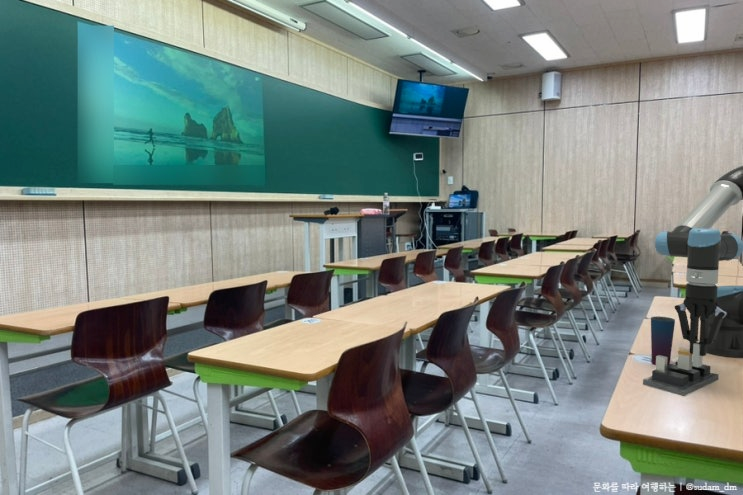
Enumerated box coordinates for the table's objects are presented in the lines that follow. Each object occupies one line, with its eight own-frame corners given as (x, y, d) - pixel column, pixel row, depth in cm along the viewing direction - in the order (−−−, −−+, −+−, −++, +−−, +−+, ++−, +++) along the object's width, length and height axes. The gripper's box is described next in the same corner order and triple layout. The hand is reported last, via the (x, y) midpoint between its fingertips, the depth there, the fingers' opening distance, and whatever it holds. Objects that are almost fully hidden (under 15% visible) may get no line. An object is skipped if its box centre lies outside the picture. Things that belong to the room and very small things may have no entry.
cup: (645, 364, 167) (648, 318, 166) (652, 359, 172) (654, 315, 171) (669, 369, 163) (672, 322, 161) (675, 364, 167) (677, 318, 166)
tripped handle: (680, 366, 152) (681, 349, 151) (692, 369, 149) (692, 351, 149) (677, 367, 151) (678, 350, 150) (688, 370, 148) (689, 353, 148)
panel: (678, 369, 162) (680, 344, 161) (718, 379, 153) (720, 352, 152) (642, 384, 149) (644, 356, 148) (683, 395, 140) (685, 366, 139)
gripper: (670, 282, 148) (667, 362, 150) (722, 288, 138) (717, 374, 140) (682, 279, 153) (678, 357, 155) (733, 285, 142) (728, 369, 144)
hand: (697, 365), depth 147 cm, fingers closed
